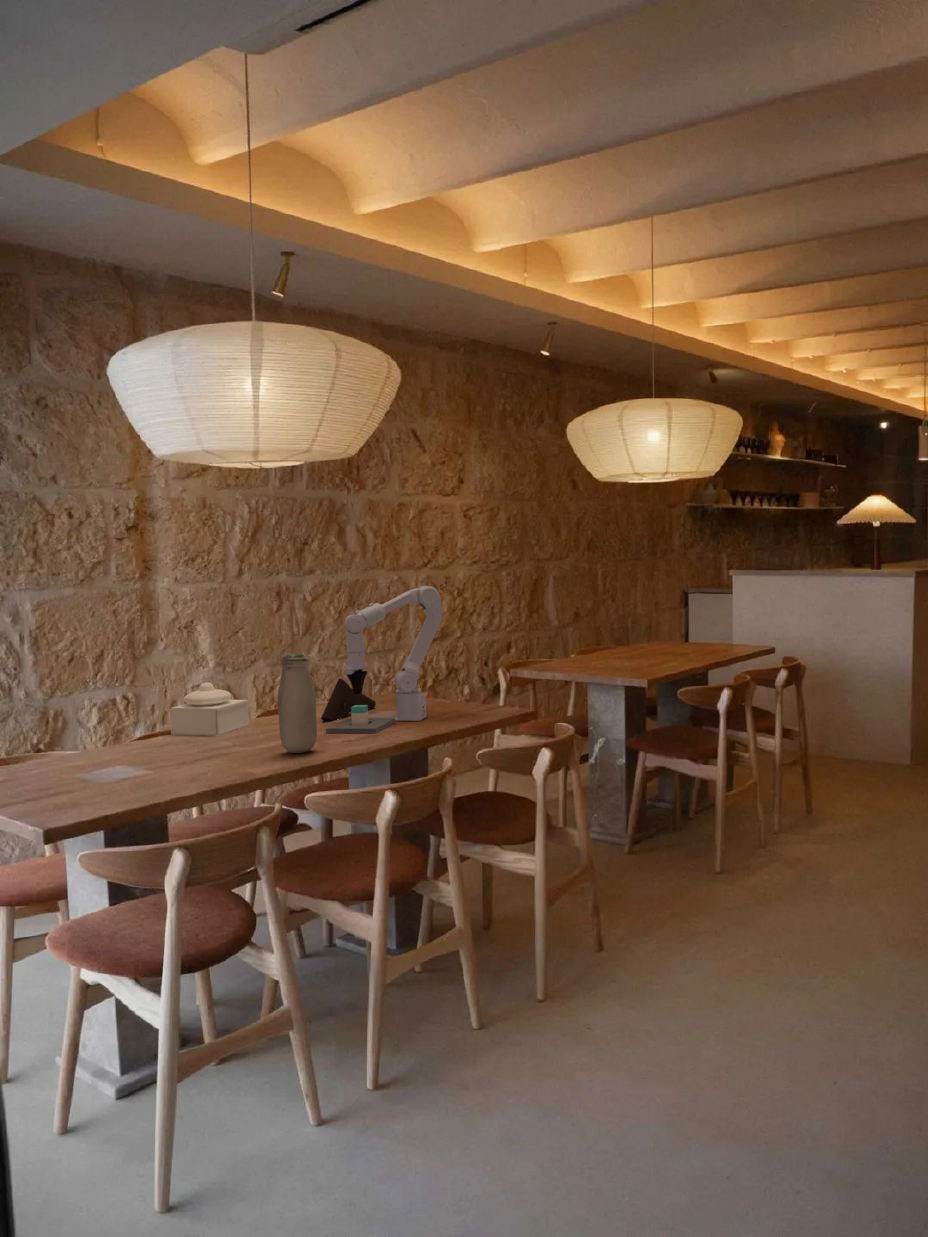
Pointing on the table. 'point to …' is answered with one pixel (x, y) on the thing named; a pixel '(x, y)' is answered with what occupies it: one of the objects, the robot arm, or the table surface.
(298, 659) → the glass bottle
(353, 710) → the plug
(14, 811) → the table surface
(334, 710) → the holster
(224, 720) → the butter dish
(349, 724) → the port plate
